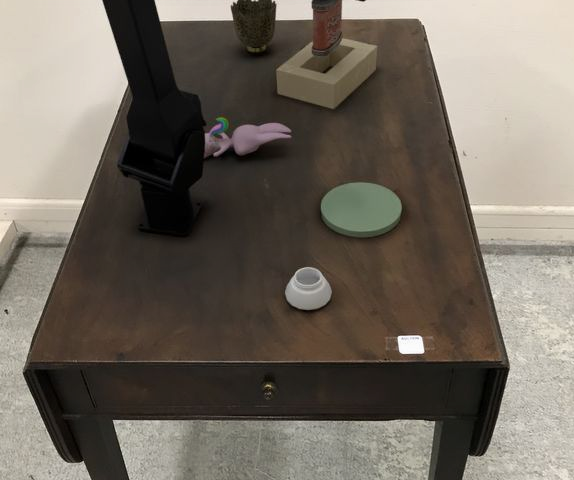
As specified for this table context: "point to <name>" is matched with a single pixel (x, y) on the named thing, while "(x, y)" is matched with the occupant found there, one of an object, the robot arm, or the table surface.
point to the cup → (254, 23)
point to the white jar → (308, 289)
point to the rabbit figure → (242, 137)
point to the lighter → (326, 26)
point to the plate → (361, 209)
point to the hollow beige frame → (336, 82)
